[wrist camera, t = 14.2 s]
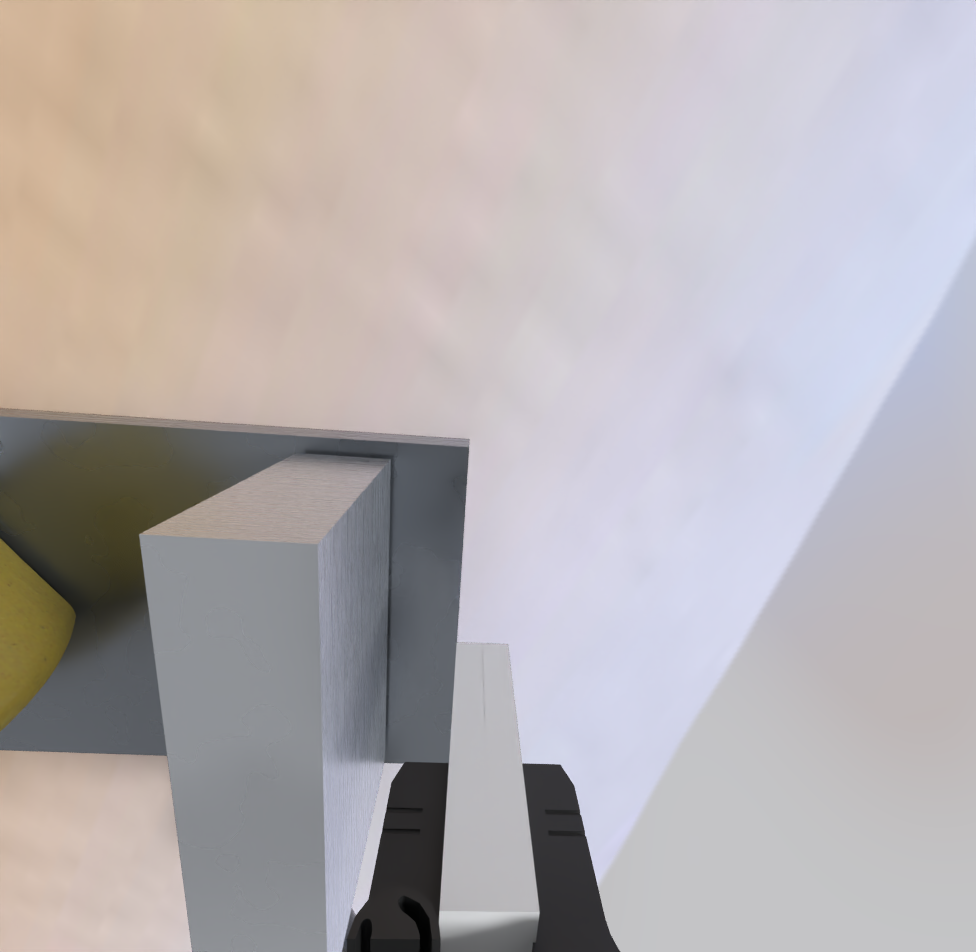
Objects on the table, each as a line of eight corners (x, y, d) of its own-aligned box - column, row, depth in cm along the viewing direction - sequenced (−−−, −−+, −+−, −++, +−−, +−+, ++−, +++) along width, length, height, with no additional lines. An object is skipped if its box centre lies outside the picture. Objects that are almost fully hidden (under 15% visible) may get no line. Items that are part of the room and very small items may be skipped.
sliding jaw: (277, 451, 14) (102, 531, 8) (390, 458, 15) (317, 544, 8) (296, 868, 19) (195, 1155, 12) (382, 871, 19) (331, 1155, 12)
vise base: (-302, 388, 15) (-1232, 420, 7) (469, 439, 16) (464, 519, 8) (-188, 711, 18) (-728, 998, 10) (450, 734, 19) (433, 1008, 11)
